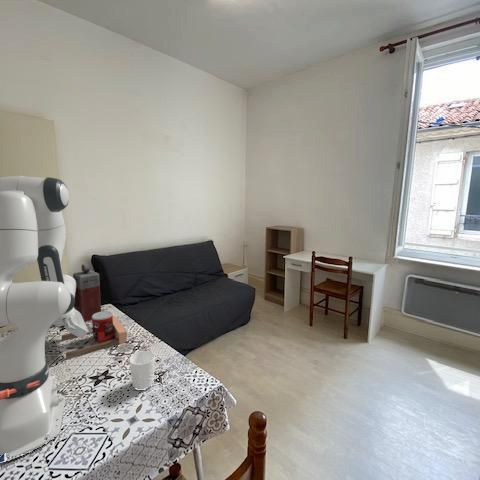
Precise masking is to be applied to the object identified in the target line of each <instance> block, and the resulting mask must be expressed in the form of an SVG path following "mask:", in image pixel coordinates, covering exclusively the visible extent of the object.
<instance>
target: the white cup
mask: <svg viewBox="0 0 480 480" xmlns="http://www.w3.org/2000/svg"><path fill="white" fill-rule="evenodd" d="M155 357H156V354H155V353H154V352H153V351H152V350H140V351H136V352H134V353H133V354H132V355H131V356H130V357H129V366H130V367H129V368H130V377H131V383H132V384H133V385H132V388H133V387H134V388H137V389H144V388H146V387H149V386H150V385H151V384H152V383H153V381H154V382H155V368H156V367H155V364H156V362H155V361H156V360H155V359H156V358H155ZM153 384H154V383H153Z"/></svg>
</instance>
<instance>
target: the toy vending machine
mask: <svg viewBox="0 0 480 480" xmlns="http://www.w3.org/2000/svg"><path fill="white" fill-rule="evenodd" d="M72 277H73V278H74V279H75V281H76V292H75V304H74V309H76V310H77V311H78V312H80V313H81V315H82V317H83V320H84V322H85V323H87V322H90V321H92V315H93V314H95V313H98V312H102V305H101V304H102V303H101V301H102V300H101V287H100V285H101V284H100V282H101V281H100V273H99V272H95V271H94V270H91V269H90V265H89V263H83V264H81V271H79V272H74V273H72Z"/></svg>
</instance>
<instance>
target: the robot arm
mask: <svg viewBox="0 0 480 480" xmlns="http://www.w3.org/2000/svg"><path fill="white" fill-rule="evenodd" d="M69 194H70V193H69V190H68V187H67V185H66V184H65V183H64V181H63V180H61V179H59V178H56V177H48V176H47V177H41V176H39V177H38V176H26V175H10V176H8V175H7V176H2V177H1V176H0V327H1V328H2V327H8V326H16V327H17V330H16V331H14V332H12V333H11V334H8V335H7V336H5V337H4V338H3V339H1V340H0V455H1V456H2V455H3V454H5V453H9V456H10V457H12V456H17V455H21V454H24V453H27V452H29V451H31V450H34V449H37V448H39V447H40V446H42V445H44V444H45V443H46V442H48V441H50V440H51V439H52V438H54V437H56V436H57V435H58V434H59V435H60V433H61V429H60V427H61V428H62V423H61V422H62V421H63V416H64V415H63V414H64V412H65V404H66V395H62V394H60V395H59V394H58V392H57V391H58V385H57V382H56V377H55V376H54V375H51V374H50V373H49V369H50V367H49V364H48V361H47V359H46V349H45V348H46V346H45V345H46V337H47V334H48V332H49V330H50V328H51V327H52V325H53V326H55V327H57V328H60V327H62V326H63V327H64V328H65V330H66V331H67V332H68V333H72V334H74V335H75V336H77V338H79V339H83V338H85V336H87V335H86V334H87V333H91V332H92V331H93V329H92V328H93V327H92V326H90V325H88V323H87V322H84V320H83V317H82V315H81V313H80V312H78V311H77V310H76V309H75V308H74V304H75V292H76V281H75V279H74V278H73V275H69V274H66V273H64V271H63V268H62V259H63V255H64V254H63V253H64V250H65V246H66V243H67V242H66V241H67V227H66V222H65V219H64V215H63V212H62V211H64V210H65V209H66V208H67V207H68V205H69V200H70V195H69ZM35 262H37V266H38V270H39V275H40V280H37V281H36V280H35V281H24V282H13V278H14V276H15V275H16V274H17V273H18V272H19V271H21V270H24V269H26V268H28V267H30V266H32V265H33V264H34V263H35ZM59 432H60V433H59ZM59 435H58V436H59ZM58 436H57V437H58ZM57 437H56V438H57ZM46 438H48V439H47V440H45V439H46ZM39 449H40V448H39ZM37 450H38V449H37ZM1 456H0V457H1ZM9 456H8V457H9Z"/></svg>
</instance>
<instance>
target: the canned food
mask: <svg viewBox="0 0 480 480" xmlns="http://www.w3.org/2000/svg"><path fill="white" fill-rule="evenodd" d="M113 316H114V315H113V312H112V311H109V310H108V311H107V310H103V311H102V310H101V312H98V313H95V314H93V315H92V320H91V323H92V325H91V327H92V328H93V333H92V337H93V340H94V342H96V343H103V342H106V341H110V340H113V337H114V334H113Z"/></svg>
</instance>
